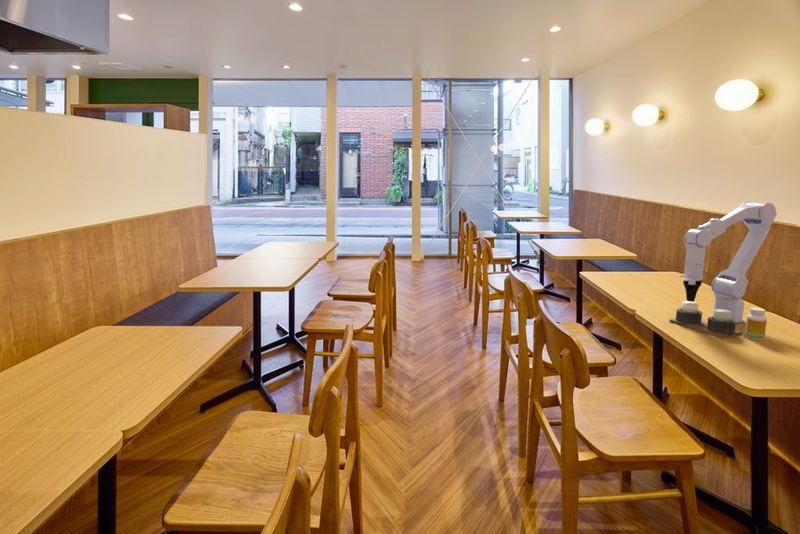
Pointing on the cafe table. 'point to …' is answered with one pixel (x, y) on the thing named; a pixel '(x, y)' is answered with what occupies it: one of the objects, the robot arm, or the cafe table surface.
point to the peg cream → (689, 307)
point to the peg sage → (722, 315)
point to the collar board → (705, 324)
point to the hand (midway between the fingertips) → (690, 301)
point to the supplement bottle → (756, 324)
